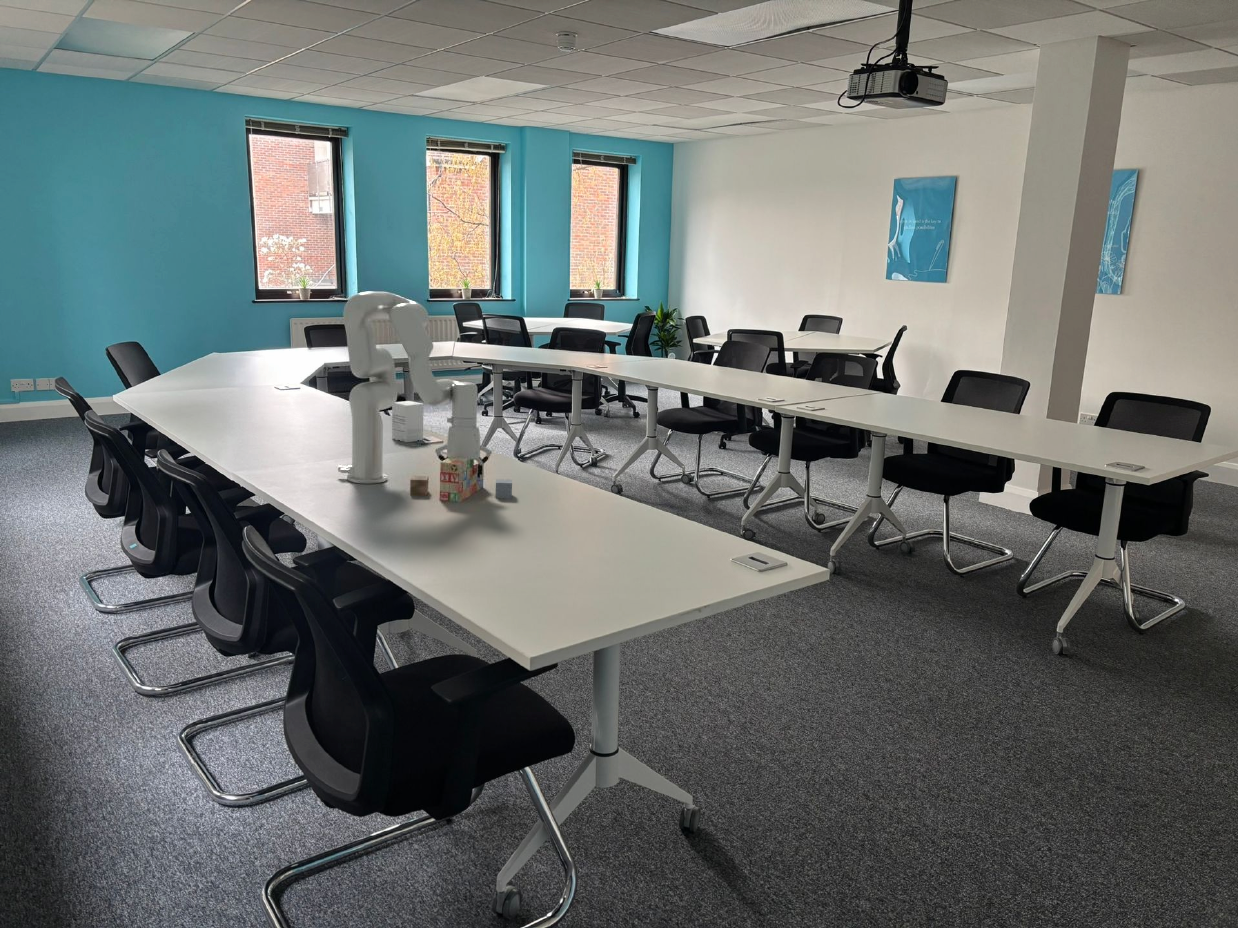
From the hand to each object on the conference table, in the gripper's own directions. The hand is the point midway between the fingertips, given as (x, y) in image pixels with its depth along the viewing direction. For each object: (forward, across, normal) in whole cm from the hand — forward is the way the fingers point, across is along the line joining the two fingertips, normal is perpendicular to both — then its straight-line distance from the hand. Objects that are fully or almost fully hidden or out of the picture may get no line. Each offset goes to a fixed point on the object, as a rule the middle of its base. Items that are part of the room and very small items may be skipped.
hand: (463, 476), depth 276 cm
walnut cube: (+6, -13, -1) cm, 15 cm away
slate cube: (+6, +13, -1) cm, 14 cm away
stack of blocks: (+6, 0, +1) cm, 6 cm away
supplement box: (+5, -26, +83) cm, 87 cm away
